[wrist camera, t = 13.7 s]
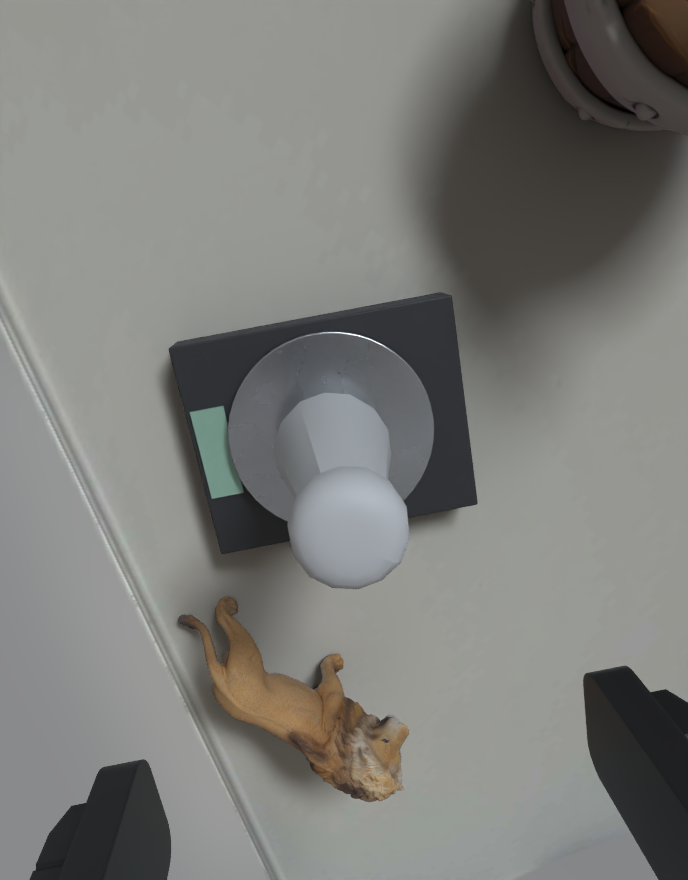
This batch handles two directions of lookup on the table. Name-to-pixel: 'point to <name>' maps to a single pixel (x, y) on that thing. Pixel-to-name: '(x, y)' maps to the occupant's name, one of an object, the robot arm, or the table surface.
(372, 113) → the table surface
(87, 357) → the table surface
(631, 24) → the flowerpot
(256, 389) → the scale pan
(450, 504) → the scale
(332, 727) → the lion figurine
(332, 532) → the salt shaker
